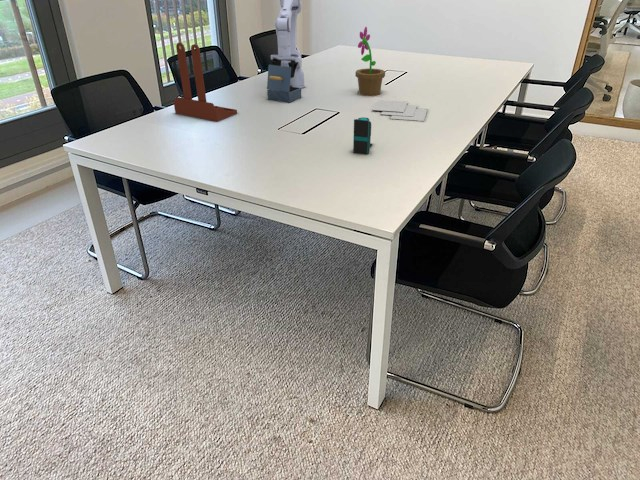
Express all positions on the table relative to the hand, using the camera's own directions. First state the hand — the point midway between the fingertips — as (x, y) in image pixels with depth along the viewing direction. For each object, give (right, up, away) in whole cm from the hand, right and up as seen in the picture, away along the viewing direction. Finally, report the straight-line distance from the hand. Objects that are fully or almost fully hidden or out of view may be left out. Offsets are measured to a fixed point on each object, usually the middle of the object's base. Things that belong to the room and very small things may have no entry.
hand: (285, 76), depth 233 cm
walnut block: (0, -8, +5) cm, 9 cm away
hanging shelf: (-34, -22, -15) cm, 43 cm away
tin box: (-1, -9, +4) cm, 10 cm away
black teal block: (+32, -44, -54) cm, 77 cm away
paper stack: (+51, -20, -15) cm, 57 cm away
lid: (-3, -2, -4) cm, 5 cm away
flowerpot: (+41, -5, +10) cm, 42 cm away
